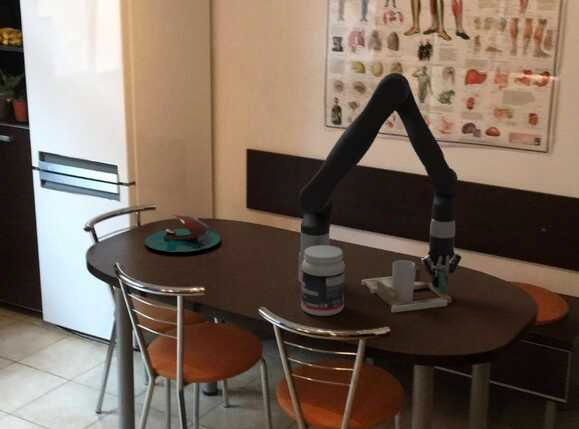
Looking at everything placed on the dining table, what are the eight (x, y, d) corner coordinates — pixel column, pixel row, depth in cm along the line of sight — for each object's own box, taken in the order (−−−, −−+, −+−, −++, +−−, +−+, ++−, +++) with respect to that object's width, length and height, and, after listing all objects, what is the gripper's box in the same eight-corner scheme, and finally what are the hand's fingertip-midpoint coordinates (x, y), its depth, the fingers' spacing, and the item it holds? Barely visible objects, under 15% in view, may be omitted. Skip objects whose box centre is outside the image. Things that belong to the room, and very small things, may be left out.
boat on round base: (216, 256, 287) (215, 226, 284) (138, 255, 287) (136, 226, 284) (223, 232, 314) (223, 205, 311) (152, 232, 314) (150, 204, 311)
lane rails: (392, 312, 239) (392, 307, 238) (361, 284, 261) (362, 279, 260) (447, 305, 244) (447, 300, 243) (412, 278, 266) (412, 274, 265)
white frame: (393, 309, 240) (395, 283, 238) (375, 292, 253) (376, 267, 251) (452, 302, 246) (454, 276, 243) (431, 286, 259) (432, 261, 256)
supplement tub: (292, 307, 242) (292, 249, 237) (325, 297, 250) (326, 241, 244) (319, 321, 232) (320, 261, 227) (353, 310, 240) (354, 252, 235)
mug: (405, 306, 243) (406, 269, 240) (386, 301, 247) (388, 264, 244) (423, 297, 250) (425, 260, 247) (405, 292, 254) (406, 256, 251)
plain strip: (371, 290, 254) (372, 275, 253) (365, 284, 259) (365, 269, 258) (420, 285, 259) (421, 269, 258) (413, 279, 264) (413, 264, 263)
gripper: (427, 238, 241) (424, 292, 246) (468, 234, 245) (465, 288, 250) (416, 231, 248) (413, 284, 253) (456, 227, 252) (453, 279, 256)
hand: (439, 286), depth 251 cm, fingers closed on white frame, 2 cm apart
